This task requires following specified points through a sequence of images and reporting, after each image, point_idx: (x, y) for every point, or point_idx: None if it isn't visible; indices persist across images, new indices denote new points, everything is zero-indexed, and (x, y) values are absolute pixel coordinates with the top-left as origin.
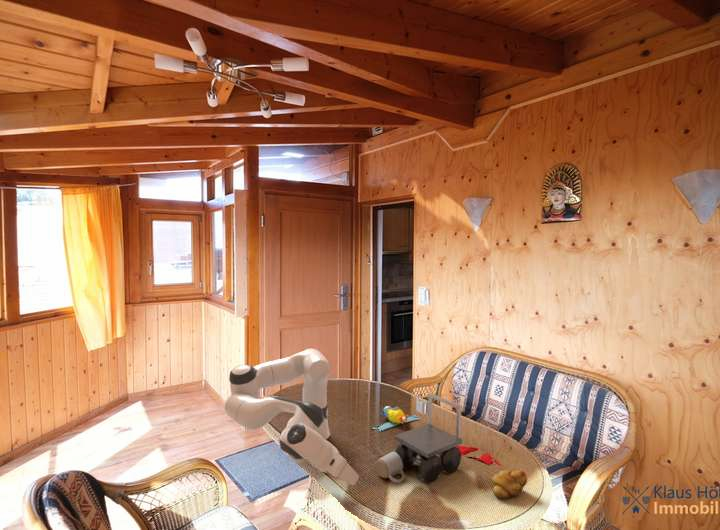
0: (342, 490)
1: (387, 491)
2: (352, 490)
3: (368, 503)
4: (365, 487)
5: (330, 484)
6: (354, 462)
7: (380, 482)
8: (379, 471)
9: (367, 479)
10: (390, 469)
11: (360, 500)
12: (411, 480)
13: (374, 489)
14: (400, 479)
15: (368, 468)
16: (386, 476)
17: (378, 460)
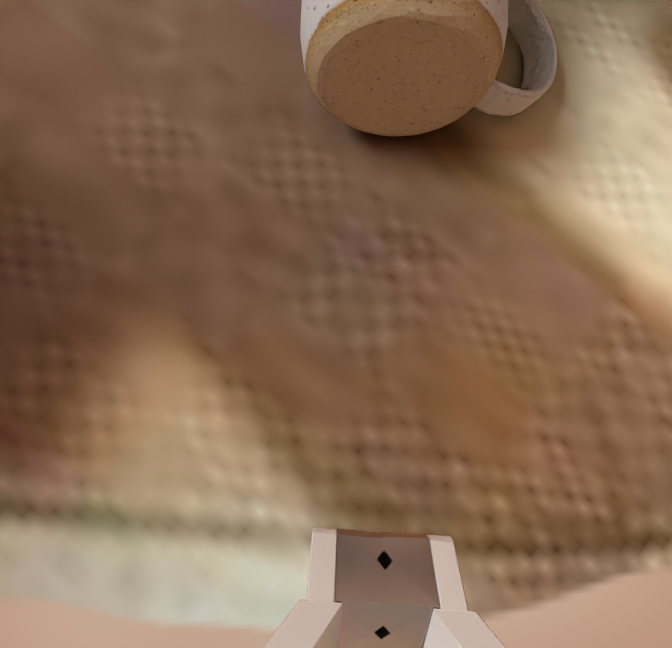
0: (301, 564)
1: (580, 236)
2: (371, 476)
3: (642, 494)
4: (412, 341)
5: (116, 601)
6: (13, 148)
7: (434, 191)
8: (366, 107)
9: (321, 242)
10: (506, 33)
11: (559, 526)
12: (561, 10)
13: (489, 300)
14: (555, 61)
15: (190, 124)
16: (462, 114)
17: (358, 12)
